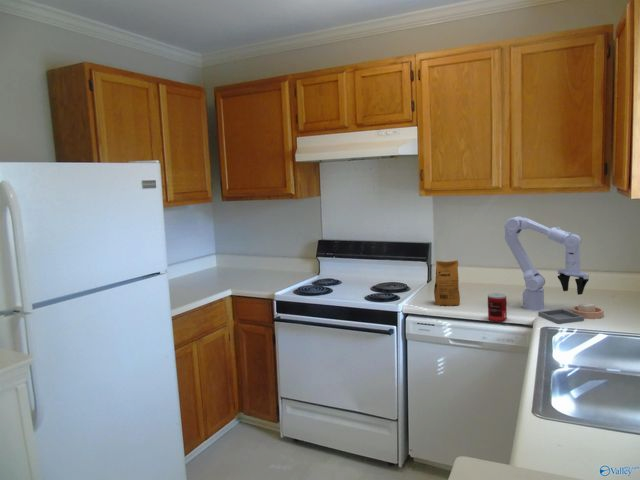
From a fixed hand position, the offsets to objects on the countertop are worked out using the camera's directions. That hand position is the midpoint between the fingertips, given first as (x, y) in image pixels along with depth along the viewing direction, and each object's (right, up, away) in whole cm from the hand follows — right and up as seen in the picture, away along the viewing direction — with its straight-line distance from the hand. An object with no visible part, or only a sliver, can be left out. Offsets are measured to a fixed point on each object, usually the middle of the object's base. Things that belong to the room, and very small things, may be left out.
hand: (572, 292), depth 212 cm
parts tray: (-9, -11, -7) cm, 15 cm away
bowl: (+4, -10, -4) cm, 11 cm away
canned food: (-33, -12, -1) cm, 36 cm away
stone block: (+4, -9, -4) cm, 11 cm away
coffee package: (-47, -9, +30) cm, 57 cm away
